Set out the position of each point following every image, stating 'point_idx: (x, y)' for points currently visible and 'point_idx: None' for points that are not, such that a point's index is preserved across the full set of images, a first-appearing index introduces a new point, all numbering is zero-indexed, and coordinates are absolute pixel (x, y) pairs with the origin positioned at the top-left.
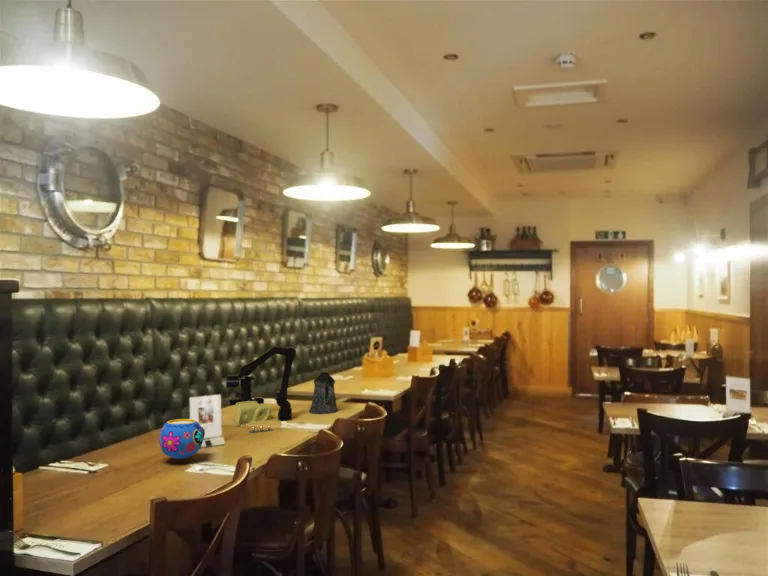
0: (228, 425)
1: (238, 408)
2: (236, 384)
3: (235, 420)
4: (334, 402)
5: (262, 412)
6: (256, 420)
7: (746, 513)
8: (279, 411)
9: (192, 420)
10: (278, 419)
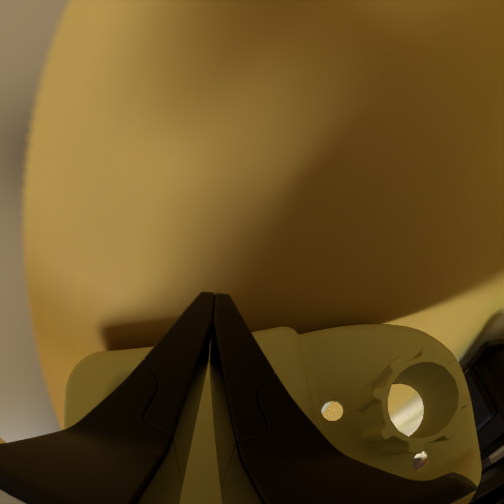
0: (30, 299)
1: None
2: None
3: (67, 391)
4: None
5: (424, 407)
6: (322, 354)
7: None
8: (484, 425)
9: None
10: (470, 360)
